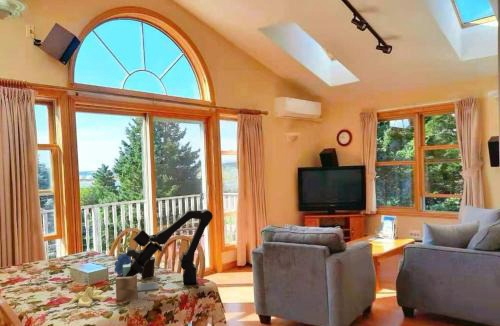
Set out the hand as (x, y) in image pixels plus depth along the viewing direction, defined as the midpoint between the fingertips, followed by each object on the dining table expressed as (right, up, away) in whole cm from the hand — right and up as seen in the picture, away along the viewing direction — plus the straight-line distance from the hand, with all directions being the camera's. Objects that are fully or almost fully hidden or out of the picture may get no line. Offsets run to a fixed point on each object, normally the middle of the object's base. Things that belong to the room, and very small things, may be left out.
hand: (125, 276), depth 194 cm
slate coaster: (+10, -6, +3) cm, 12 cm away
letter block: (+2, -7, 0) cm, 7 cm away
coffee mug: (+6, -6, +24) cm, 25 cm away
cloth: (-14, -8, -12) cm, 20 cm away
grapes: (-11, -7, +28) cm, 31 cm away
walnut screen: (+5, -7, -13) cm, 15 cm away
